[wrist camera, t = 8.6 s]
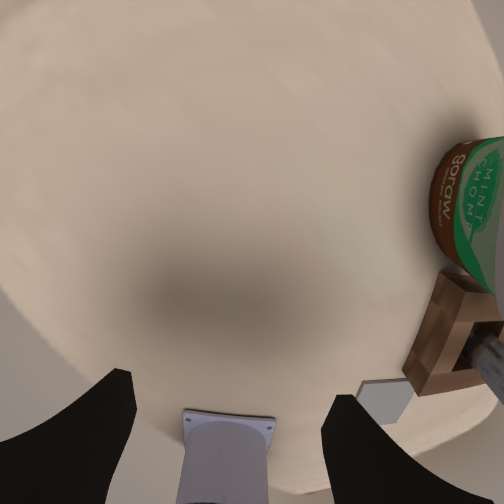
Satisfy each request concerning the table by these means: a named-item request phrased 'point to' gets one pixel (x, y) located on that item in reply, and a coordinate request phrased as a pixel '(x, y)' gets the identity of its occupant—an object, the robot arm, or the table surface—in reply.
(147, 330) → the table surface
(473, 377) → the hole block
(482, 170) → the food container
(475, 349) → the peg
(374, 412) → the mat
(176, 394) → the table surface
